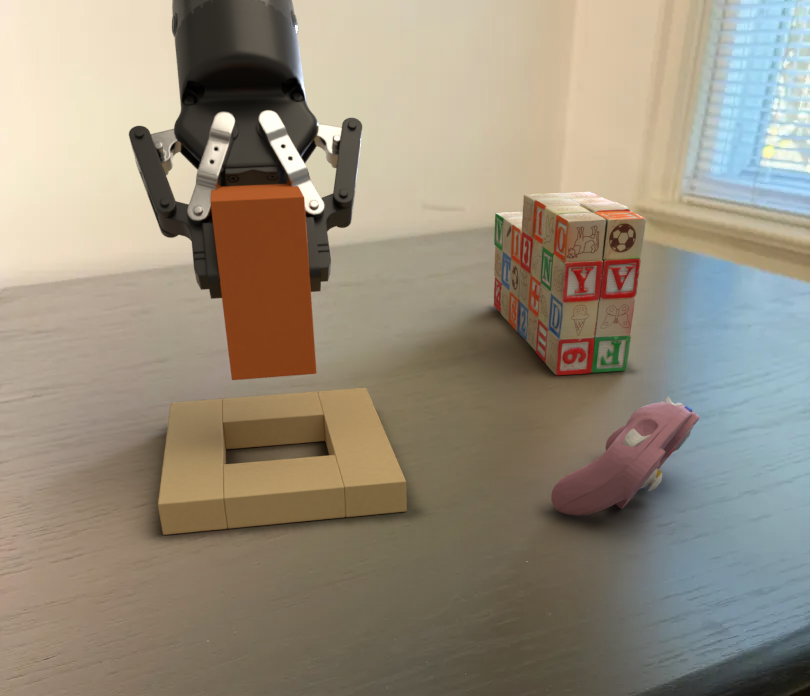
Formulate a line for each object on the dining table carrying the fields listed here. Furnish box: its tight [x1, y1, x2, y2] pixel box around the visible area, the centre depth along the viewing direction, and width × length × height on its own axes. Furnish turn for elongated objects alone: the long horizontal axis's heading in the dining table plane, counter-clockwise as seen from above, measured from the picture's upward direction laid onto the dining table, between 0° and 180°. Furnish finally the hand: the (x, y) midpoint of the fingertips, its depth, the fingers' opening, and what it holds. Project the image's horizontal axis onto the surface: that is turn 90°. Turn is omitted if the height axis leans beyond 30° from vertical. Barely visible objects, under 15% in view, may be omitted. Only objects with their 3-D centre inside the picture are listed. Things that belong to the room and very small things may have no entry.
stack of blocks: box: [493, 191, 647, 376], centre depth 79 cm, size 21×6×12 cm, turn 9°
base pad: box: [157, 387, 408, 536], centre depth 57 cm, size 14×16×2 cm
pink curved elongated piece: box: [550, 395, 700, 516], centre depth 52 cm, size 10×5×7 cm, turn 147°
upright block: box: [210, 184, 318, 381], centre depth 52 cm, size 5×5×10 cm
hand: (265, 286), depth 50 cm, fingers closed on upright block, 5 cm apart
